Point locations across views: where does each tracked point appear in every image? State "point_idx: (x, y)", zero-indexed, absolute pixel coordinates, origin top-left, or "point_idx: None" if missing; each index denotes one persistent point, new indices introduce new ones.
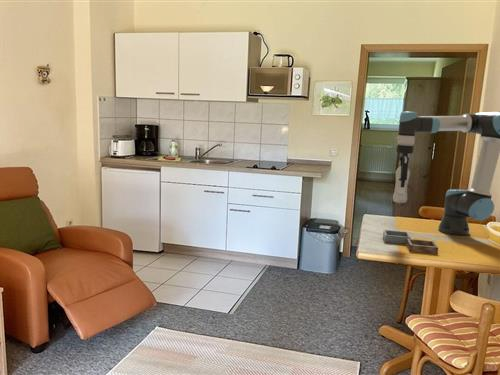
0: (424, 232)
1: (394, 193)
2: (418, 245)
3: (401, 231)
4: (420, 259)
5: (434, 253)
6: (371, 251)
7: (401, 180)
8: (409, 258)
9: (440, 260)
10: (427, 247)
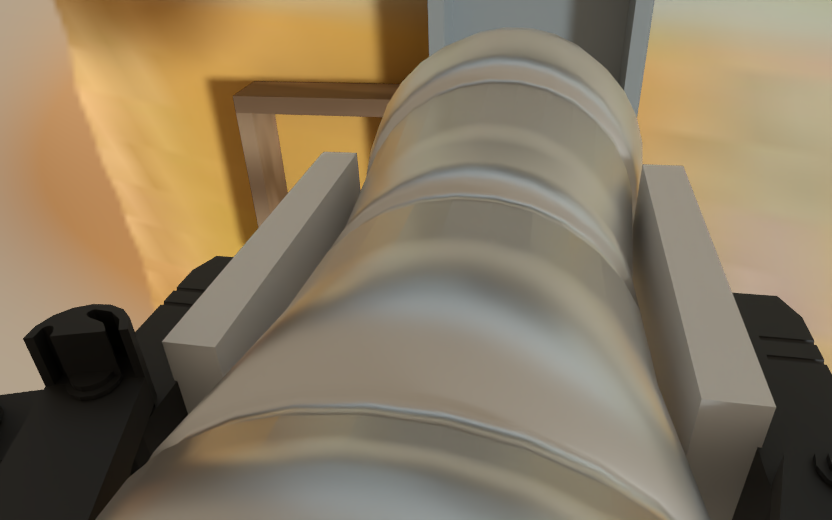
0: None
1: (450, 76)
2: (249, 155)
3: (637, 85)
4: (113, 123)
5: None
6: None
7: (159, 378)
8: (90, 54)
9: (164, 232)
10: (257, 207)
